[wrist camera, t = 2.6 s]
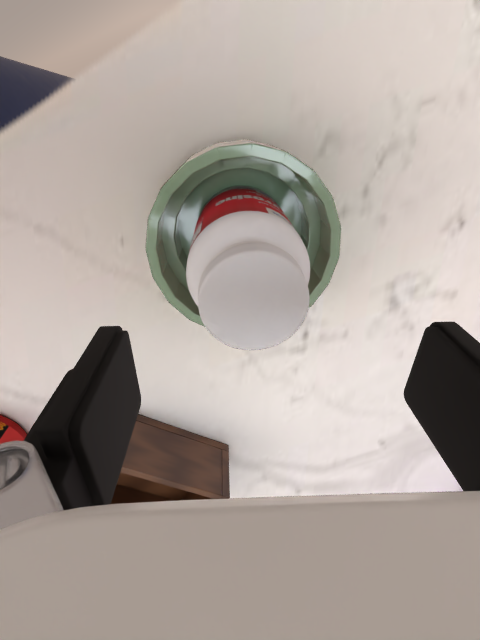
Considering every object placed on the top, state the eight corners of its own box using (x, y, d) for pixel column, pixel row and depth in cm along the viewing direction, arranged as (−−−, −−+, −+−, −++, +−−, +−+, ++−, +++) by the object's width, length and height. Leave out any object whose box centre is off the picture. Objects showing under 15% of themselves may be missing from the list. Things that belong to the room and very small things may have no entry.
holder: (92, 474, 37) (71, 530, 32) (128, 410, 32) (111, 463, 27) (183, 499, 40) (178, 553, 35) (228, 445, 35) (230, 498, 30)
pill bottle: (298, 202, 22) (356, 261, 13) (265, 281, 25) (292, 377, 16) (210, 169, 21) (203, 208, 12) (185, 257, 24) (163, 345, 14)
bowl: (135, 258, 24) (117, 287, 20) (206, 100, 19) (202, 93, 15) (264, 321, 28) (272, 357, 23) (351, 198, 23) (381, 216, 19)
